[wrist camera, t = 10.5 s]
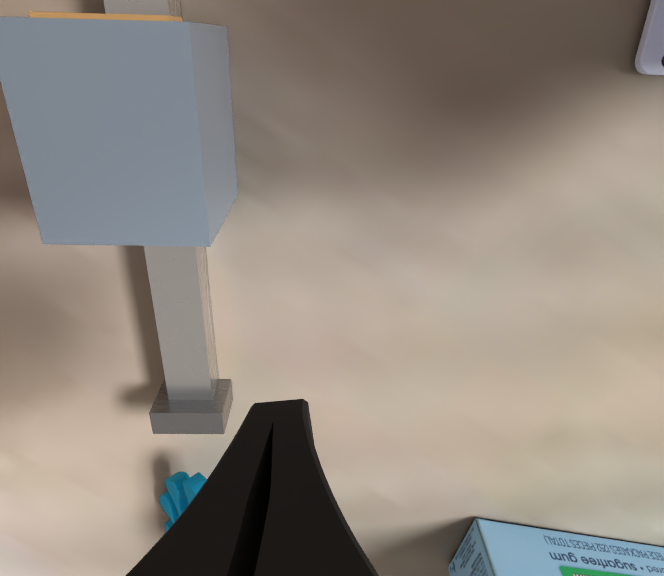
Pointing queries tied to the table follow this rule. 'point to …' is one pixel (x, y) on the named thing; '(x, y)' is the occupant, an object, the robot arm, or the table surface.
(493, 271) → the table surface
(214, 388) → the rail
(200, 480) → the gear
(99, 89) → the block
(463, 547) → the gum box
